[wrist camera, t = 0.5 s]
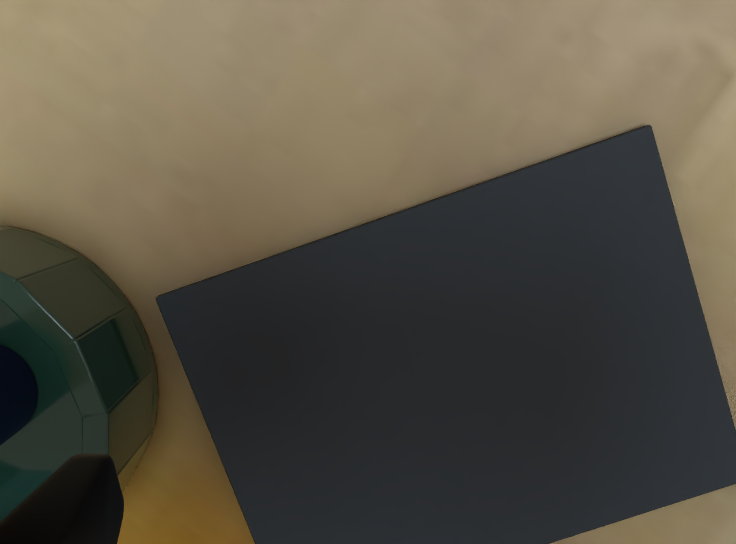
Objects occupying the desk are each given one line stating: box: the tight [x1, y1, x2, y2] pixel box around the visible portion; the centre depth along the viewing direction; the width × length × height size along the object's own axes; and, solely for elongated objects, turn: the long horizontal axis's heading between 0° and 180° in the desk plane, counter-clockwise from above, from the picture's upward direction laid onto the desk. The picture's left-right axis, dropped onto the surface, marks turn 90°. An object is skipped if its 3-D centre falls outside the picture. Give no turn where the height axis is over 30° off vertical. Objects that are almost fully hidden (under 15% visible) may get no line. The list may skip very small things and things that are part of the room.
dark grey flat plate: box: [156, 125, 736, 544], centre depth 22 cm, size 12×16×1 cm
